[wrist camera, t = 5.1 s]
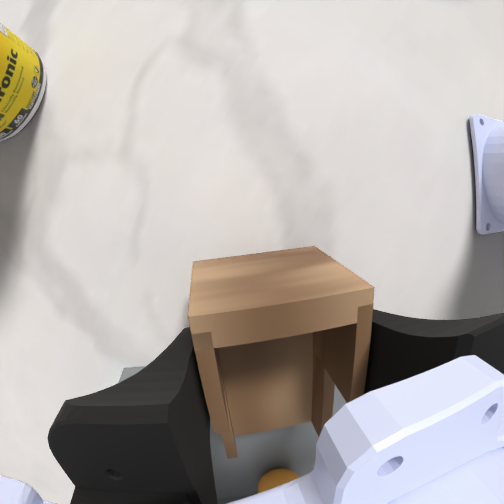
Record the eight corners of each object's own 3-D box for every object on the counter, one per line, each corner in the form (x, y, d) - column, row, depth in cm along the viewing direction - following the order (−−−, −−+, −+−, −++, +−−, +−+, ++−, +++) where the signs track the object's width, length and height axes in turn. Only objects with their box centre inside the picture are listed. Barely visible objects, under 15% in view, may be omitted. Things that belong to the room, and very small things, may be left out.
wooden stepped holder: (314, 246, 13) (374, 286, 8) (314, 407, 15) (347, 474, 10) (192, 261, 12) (188, 316, 8) (222, 424, 15) (233, 499, 10)
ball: (314, 487, 17) (280, 471, 19) (308, 472, 16) (271, 455, 18) (288, 518, 15) (255, 500, 17) (280, 507, 14) (243, 486, 16)
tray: (414, 317, 17) (449, 340, 14) (387, 457, 20) (406, 484, 17) (117, 368, 15) (101, 406, 12) (176, 501, 18) (176, 535, 14)
